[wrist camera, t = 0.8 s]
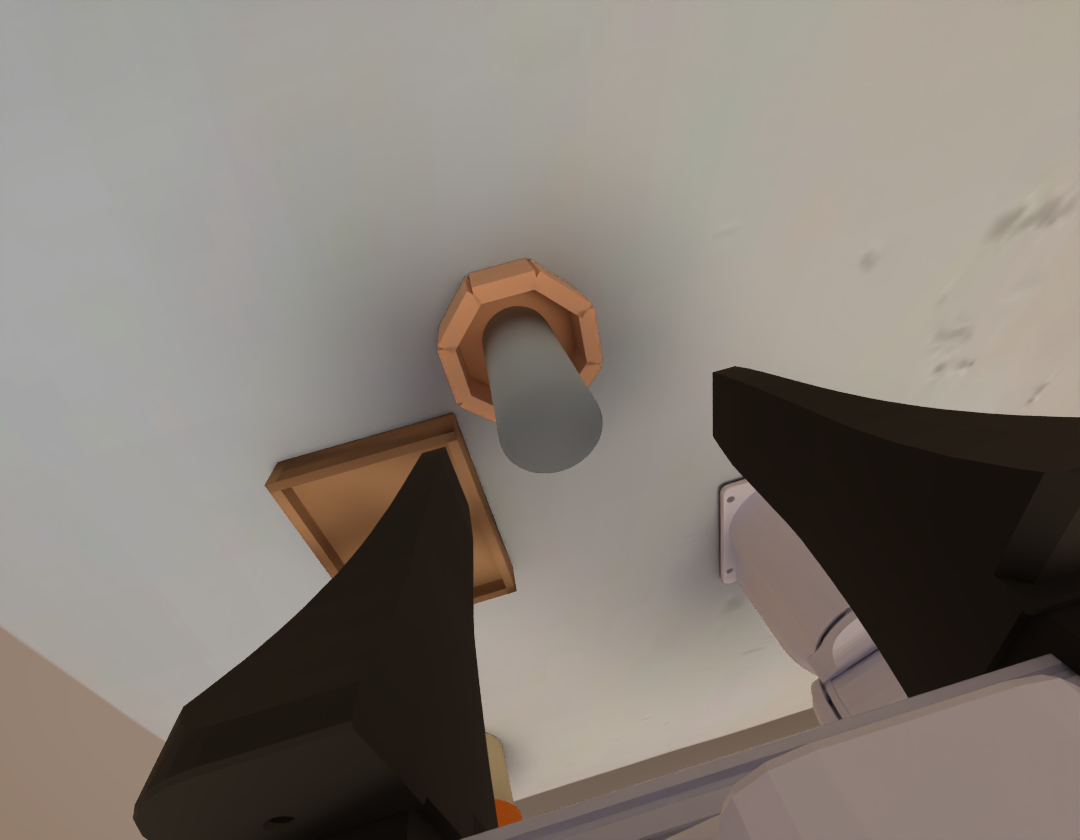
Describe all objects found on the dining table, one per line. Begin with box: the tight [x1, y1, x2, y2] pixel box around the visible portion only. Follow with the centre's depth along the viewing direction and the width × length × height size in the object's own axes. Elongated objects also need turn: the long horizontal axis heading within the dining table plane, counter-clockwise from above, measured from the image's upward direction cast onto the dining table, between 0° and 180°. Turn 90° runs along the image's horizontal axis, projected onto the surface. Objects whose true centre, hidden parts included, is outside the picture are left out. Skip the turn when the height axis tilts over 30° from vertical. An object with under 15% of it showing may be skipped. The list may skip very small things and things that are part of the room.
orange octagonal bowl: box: [437, 258, 603, 423], centre depth 20 cm, size 7×7×3 cm
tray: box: [265, 413, 516, 604], centre depth 24 cm, size 12×9×2 cm
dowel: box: [482, 306, 602, 473], centre depth 17 cm, size 3×3×8 cm
